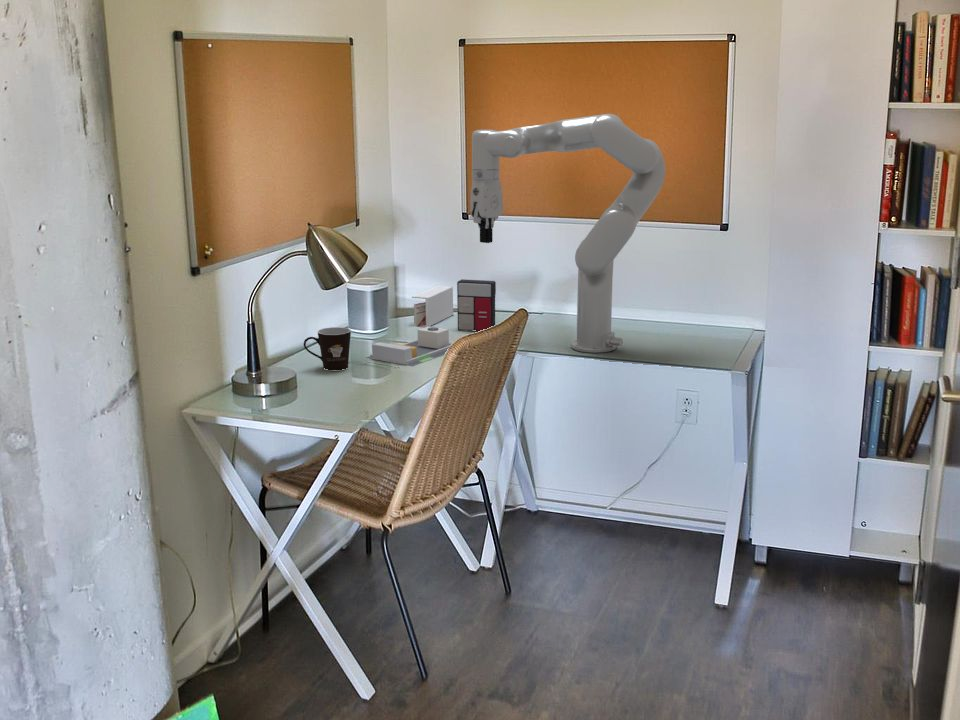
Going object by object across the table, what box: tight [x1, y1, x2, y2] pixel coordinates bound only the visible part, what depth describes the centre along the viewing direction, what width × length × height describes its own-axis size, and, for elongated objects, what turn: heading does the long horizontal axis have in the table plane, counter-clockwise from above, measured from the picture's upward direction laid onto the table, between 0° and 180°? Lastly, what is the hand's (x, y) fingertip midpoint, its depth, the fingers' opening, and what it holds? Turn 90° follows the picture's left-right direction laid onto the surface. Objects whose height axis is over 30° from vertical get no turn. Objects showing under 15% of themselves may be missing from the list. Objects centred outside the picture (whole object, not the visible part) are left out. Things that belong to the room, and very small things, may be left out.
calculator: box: [456, 278, 497, 332], centre depth 320 cm, size 11×4×15 cm, turn 73°
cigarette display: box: [411, 285, 454, 328], centre depth 334 cm, size 20×6×9 cm, turn 158°
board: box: [365, 338, 452, 369], centre depth 292 cm, size 25×16×5 cm, turn 146°
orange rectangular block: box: [393, 343, 417, 358], centre depth 287 cm, size 2×8×3 cm, turn 56°
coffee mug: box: [303, 326, 352, 371], centre depth 281 cm, size 12×9×10 cm
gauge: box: [417, 326, 450, 349], centre depth 298 cm, size 5×7×5 cm
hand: (486, 242), depth 299 cm, fingers closed
